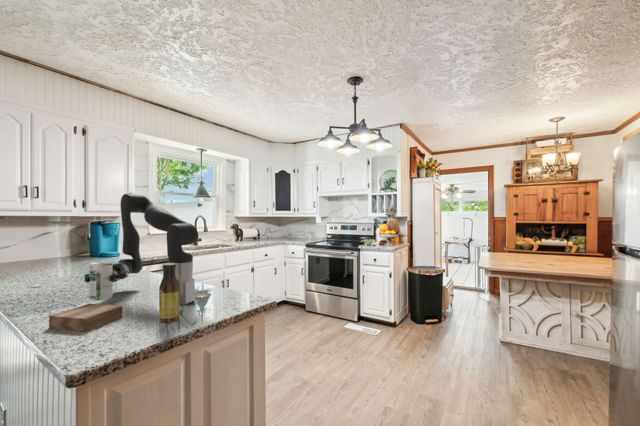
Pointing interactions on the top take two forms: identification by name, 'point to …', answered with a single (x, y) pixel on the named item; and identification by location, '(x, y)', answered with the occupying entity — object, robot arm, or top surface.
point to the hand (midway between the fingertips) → (98, 279)
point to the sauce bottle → (169, 294)
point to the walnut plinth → (85, 317)
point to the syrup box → (100, 280)
